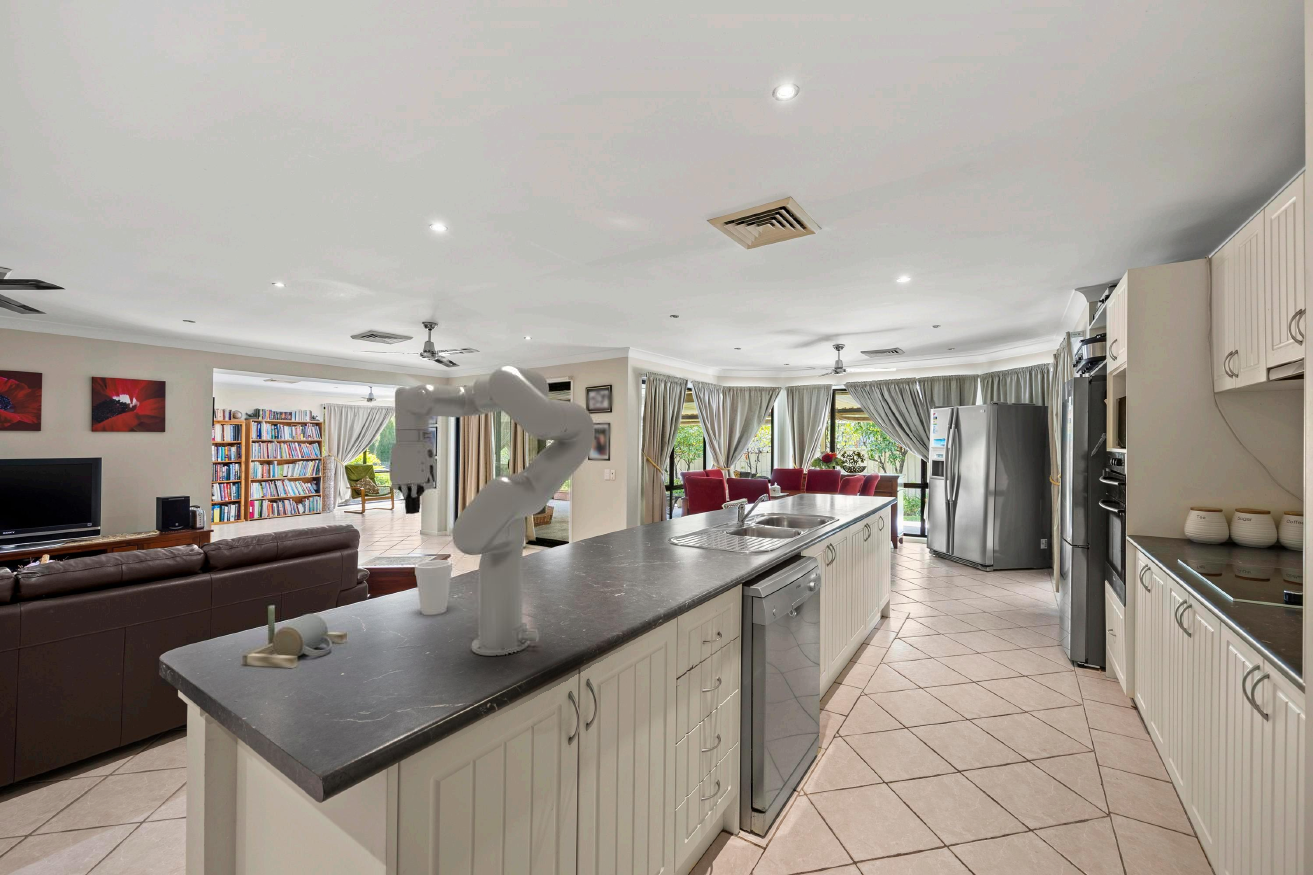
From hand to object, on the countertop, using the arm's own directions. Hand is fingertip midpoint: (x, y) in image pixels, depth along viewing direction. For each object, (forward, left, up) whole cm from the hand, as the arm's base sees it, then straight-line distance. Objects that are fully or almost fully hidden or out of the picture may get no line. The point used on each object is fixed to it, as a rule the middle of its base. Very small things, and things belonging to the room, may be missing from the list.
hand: (412, 513), depth 134 cm
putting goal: (+18, +15, -29) cm, 37 cm away
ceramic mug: (+16, +15, -29) cm, 37 cm away
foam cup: (+5, -17, -29) cm, 34 cm away
